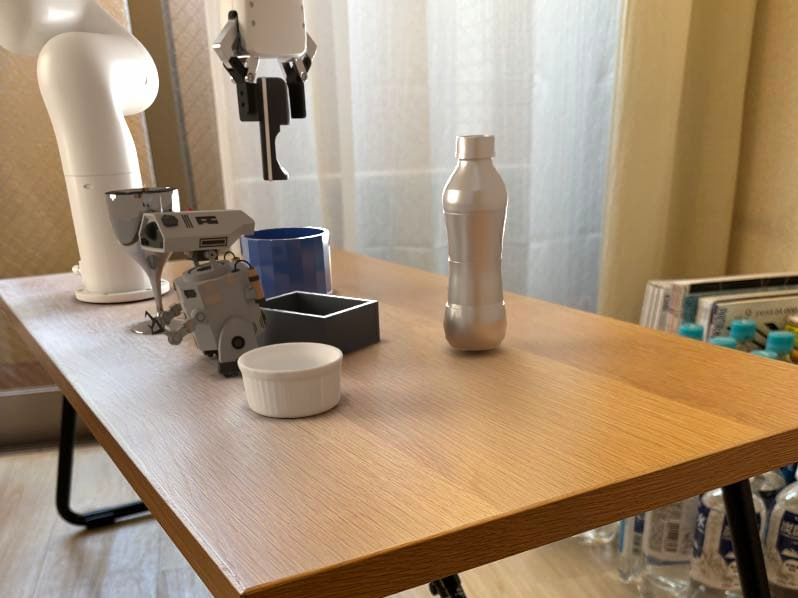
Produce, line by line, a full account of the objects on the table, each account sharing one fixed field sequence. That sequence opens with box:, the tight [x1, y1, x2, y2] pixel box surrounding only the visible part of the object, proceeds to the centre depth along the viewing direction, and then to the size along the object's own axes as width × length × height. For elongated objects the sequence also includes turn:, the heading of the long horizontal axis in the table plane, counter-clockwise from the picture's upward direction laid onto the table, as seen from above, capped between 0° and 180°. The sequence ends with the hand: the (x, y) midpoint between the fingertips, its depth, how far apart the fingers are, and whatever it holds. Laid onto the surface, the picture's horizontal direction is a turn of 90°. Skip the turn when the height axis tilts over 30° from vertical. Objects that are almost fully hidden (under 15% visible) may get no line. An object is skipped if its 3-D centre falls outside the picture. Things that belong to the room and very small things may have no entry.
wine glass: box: [105, 186, 185, 335], centre depth 102 cm, size 8×8×15 cm
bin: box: [256, 291, 381, 356], centre depth 95 cm, size 9×12×4 cm
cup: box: [238, 226, 334, 299], centre depth 117 cm, size 11×11×8 cm
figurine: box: [139, 207, 268, 378], centre depth 86 cm, size 9×12×15 cm
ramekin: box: [238, 342, 344, 419], centre depth 77 cm, size 9×9×4 cm
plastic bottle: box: [441, 134, 509, 352], centre depth 87 cm, size 6×7×20 cm
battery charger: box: [255, 75, 292, 182], centre depth 108 cm, size 7×4×11 cm, turn 8°
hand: (273, 118), depth 108 cm, fingers closed on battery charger, 6 cm apart
